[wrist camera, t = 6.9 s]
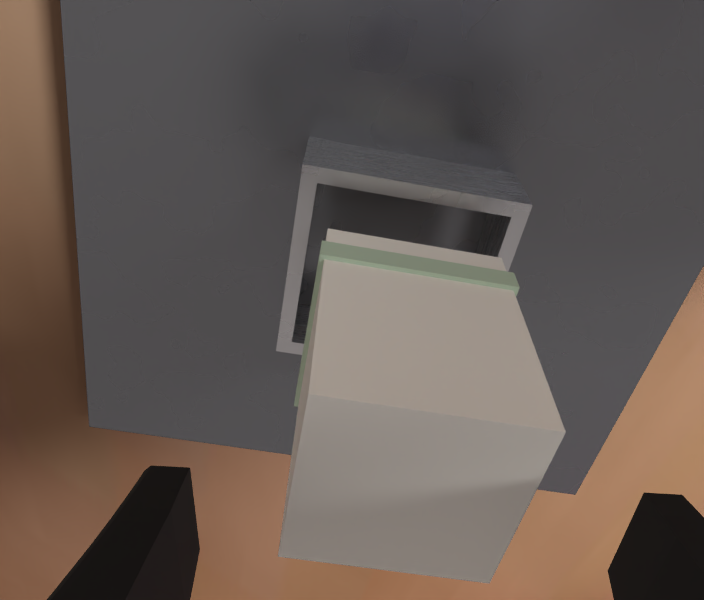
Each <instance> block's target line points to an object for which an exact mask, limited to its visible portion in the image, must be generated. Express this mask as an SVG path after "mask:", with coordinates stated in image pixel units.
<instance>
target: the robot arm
mask: <svg viewBox="0 0 704 600" xmlns="http://www.w3.org/2000/svg"><path fill="white" fill-rule="evenodd" d="M199 550H200V548H199V539H198V531H197V522H196V514H195V506H194V497H193V489H192V481H191V472H190V468H184V467H166V466H150V467H149V468H148V469H146V470H145V471H144V472H143V474H142V475H141V477H140V478H139V480H138V481H137V483H136V484H135V486H134V487H133V488H132V490H131V491H130V493H129V494H128V496H127V497H126V498H125V500H124V501H123V503H122V504H121V505H120V507H119V508H118V509H117V511H116V512H115V514H114V515H113V516H112V518H111V519H110V520H109V522H108V523H107V524H106V526H105V527H104V528H103V530H102V531H101V532H100V534H99V535H98V536H97V538H96V539H95V540H94V542H93V543H92V544H91V545H90V547H89V548H88V549H87V551H86V552H85V553H84V554H83V556H82V557H81V558H80V559H79V560H78V562H77V563H76V564H75V565H74V567H73V568H72V569H71V570H70V572H69V573H68V574H67V575H66V577H65V578H64V579H63V580H62V582H61V583H60V584H59V585H58V587H57V588H56V589H55V590H54V592H53V593H52V594H51V595H50V596H49V598H48V599H47V600H190V597H191V592H192V587H193V582H194V577H195V571H196V566H197V561H198V555H199ZM608 574H609V579H610V583H611V588H612V593H613V597H614V600H704V517H703V516H702V515H701V514H700V513H699V512H698V511H697V510H696V509H695V508H694V507H693V506H692V505H691V504H690V503H689V502H688V501H687V500H686V498H685V497H684V496H683V495H675V494H657V493H644V494H643V496H642V498H641V500H640V502H639V504H638V507H637V509H636V511H635V513H634V515H633V517H632V520H631V522H630V524H629V526H628V528H627V530H626V533H625V535H624V537H623V539H622V541H621V543H620V545H619V548H618V550H617V552H616V554H615V556H614V558H613V561H612V563H611V565H610V567H609V569H608Z"/></svg>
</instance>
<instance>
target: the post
mask: <svg viewBox="0 0 704 600" xmlns="http://www.w3.org/2000/svg"><path fill="white" fill-rule="evenodd" d="M519 288H520V287H519V284H518V282H517V279H516V276H515V274H514V273H513V272H507V271H506V269H505V266H504V263H503V261H502V258H499V257H493V256H488V255H482V254H476V253H470V252H464V251H458V250H452V249H446V248H440V247H435V246H429V245H423V244H417V243H411V242H405V241H399V240H393V239H388V238H382V237H376V236H370V235H364V234H358V233H352V232H346V231H340V230H335V229H329V228H328V230H327V235H326V241H323V240H322V242H321V248H320V254H319V260H318V265H317V271H316V277H315V283H314V289H313V295H312V300H311V306H310V312H309V318H308V324H307V329H306V335H305V341H304V347H303V353H302V358H301V364H300V370H299V376H298V382H297V388H296V394H295V401H294V406H296V407H298V411H297V419H296V426H295V434H294V441H293V448H292V456H291V463H290V471H289V478H288V486H287V493H286V501H285V508H284V516H283V523H282V531H281V538H280V546H279V553H278V557H285V558H293V559H301V560H309V561H317V562H325V563H333V564H341V565H348V566H356V567H364V568H372V569H380V570H388V571H396V572H404V573H411V574H419V575H427V576H435V577H443V578H451V579H459V580H466V581H474V582H482V583H490V581H491V579H492V577H493V575H494V573H495V571H496V569H497V567H498V565H499V563H500V561H501V559H502V557H503V555H504V553H505V552H506V550H507V548H508V546H509V544H510V542H511V540H512V538H513V536H514V534H515V532H516V530H517V528H518V526H519V524H520V522H521V520H522V518H523V516H524V514H525V512H526V510H527V508H528V506H529V504H530V502H531V500H532V498H533V496H534V494H535V492H536V490H537V488H538V486H539V484H540V482H541V480H542V478H543V476H544V474H545V472H546V470H547V469H548V467H549V465H550V463H551V461H552V459H553V457H554V455H555V453H556V451H557V449H558V447H559V445H560V443H561V441H562V439H563V437H564V435H565V433H566V431H565V428H564V426H563V423H562V420H561V418H560V415H559V412H558V410H557V407H556V404H555V401H554V399H553V396H552V393H551V391H550V388H549V385H548V382H547V380H546V377H545V374H544V372H543V369H542V366H541V363H540V361H539V358H538V355H537V353H536V350H535V347H534V345H533V342H532V339H531V336H530V334H529V331H528V328H527V326H526V323H525V320H524V317H523V315H522V312H521V309H520V307H519V304H518V301H517V298H516V296H517V293H518V291H519Z"/></svg>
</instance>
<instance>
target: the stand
mask: <svg viewBox="0 0 704 600" xmlns="http://www.w3.org/2000/svg"><path fill="white" fill-rule="evenodd" d="M60 4H61V19H62V34H63V48H64V63H65V78H66V93H67V107H68V122H69V137H70V151H71V166H72V181H73V195H74V210H75V225H76V239H77V254H78V269H79V283H80V298H81V313H82V328H83V342H84V357H85V372H86V386H87V401H88V416H89V427H96V428H104V429H111V430H118V431H125V432H132V433H139V434H146V435H153V436H161V437H168V438H175V439H182V440H189V441H196V442H203V443H210V444H218V445H225V446H232V447H239V448H246V449H253V450H260V451H268V452H275V453H282V454H289V455H292V448H293V441H294V434H295V426H296V419H297V411H298V407H296V406H294V401H295V394H296V388H297V382H298V376H299V370H300V364H301V358H302V353H303V347H304V341H305V335H306V329H307V324H308V318H309V312H310V306H311V300H312V295H313V289H314V283H315V277H316V271H317V265H318V260H319V254H320V248H321V242H322V240H323V241H326V235H327V230H328V228H329V229H335V230H340V231H346V232H352V233H358V234H364V235H370V236H376V237H382V238H388V239H393V240H399V241H405V242H411V243H417V244H423V245H429V246H435V247H440V248H446V249H452V250H458V251H464V252H470V253H476V254H482V255H488V256H493V257H499V258H502V261H503V263H504V266H505V269H506V271H507V272H513V273H514V274H515V276H516V279H517V282H518V284H519V287H520V288H519V291H518V293H517V296H516V298H517V301H518V304H519V307H520V309H521V312H522V315H523V317H524V320H525V323H526V326H527V328H528V331H529V334H530V336H531V339H532V342H533V345H534V347H535V350H536V353H537V355H538V358H539V361H540V363H541V366H542V369H543V372H544V374H545V377H546V380H547V382H548V385H549V388H550V391H551V393H552V396H553V399H554V401H555V404H556V407H557V410H558V412H559V415H560V418H561V420H562V423H563V426H564V428H565V431H566V433H565V435H564V437H563V439H562V441H561V443H560V445H559V447H558V449H557V451H556V453H555V455H554V457H553V459H552V461H551V463H550V465H549V467H548V469H547V470H546V472H545V474H544V476H543V478H542V480H541V482H540V484H539V486H538V488H537V489H538V490H546V491H553V492H560V493H567V494H574V495H575V494H576V493H577V491H578V489H579V487H580V485H581V484H582V482H583V480H584V478H585V476H586V475H587V473H588V471H589V469H590V468H591V466H592V464H593V462H594V460H595V459H596V457H597V455H598V453H599V451H600V450H601V448H602V446H603V444H604V443H605V441H606V439H607V437H608V435H609V434H610V432H611V430H612V428H613V426H614V425H615V423H616V421H617V419H618V418H619V416H620V414H621V412H622V410H623V409H624V407H625V405H626V403H627V401H628V400H629V398H630V396H631V394H632V393H633V391H634V389H635V387H636V385H637V384H638V382H639V380H640V378H641V376H642V375H643V373H644V371H645V369H646V367H647V366H648V364H649V362H650V360H651V359H652V357H653V355H654V353H655V351H656V350H657V348H658V346H659V344H660V342H661V341H662V339H663V337H664V335H665V334H666V332H667V330H668V328H669V326H670V325H671V323H672V321H673V319H674V317H675V316H676V314H677V312H678V310H679V309H680V307H681V305H682V303H683V301H684V300H685V298H686V296H687V294H688V292H689V291H690V289H691V287H692V285H693V284H694V282H695V280H696V278H697V276H698V275H699V273H700V271H701V269H702V267H703V266H704V0H60Z"/></svg>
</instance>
